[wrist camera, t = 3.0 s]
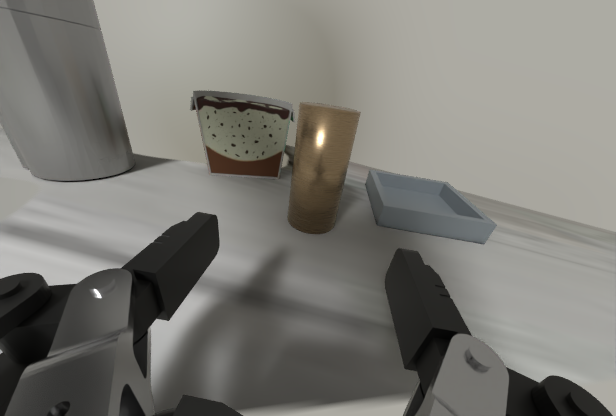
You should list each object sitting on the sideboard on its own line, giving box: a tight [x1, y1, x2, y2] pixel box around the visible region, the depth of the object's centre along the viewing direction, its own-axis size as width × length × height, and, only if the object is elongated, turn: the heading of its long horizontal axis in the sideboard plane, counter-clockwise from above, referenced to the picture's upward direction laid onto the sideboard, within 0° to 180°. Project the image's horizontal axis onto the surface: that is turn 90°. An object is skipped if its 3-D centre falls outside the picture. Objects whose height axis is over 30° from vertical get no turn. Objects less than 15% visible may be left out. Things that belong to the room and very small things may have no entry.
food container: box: [190, 91, 295, 179], centre depth 31 cm, size 12×6×10 cm, turn 99°
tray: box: [365, 170, 497, 244], centre depth 28 cm, size 12×12×2 cm
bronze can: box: [288, 102, 360, 234], centre depth 21 cm, size 5×5×11 cm
